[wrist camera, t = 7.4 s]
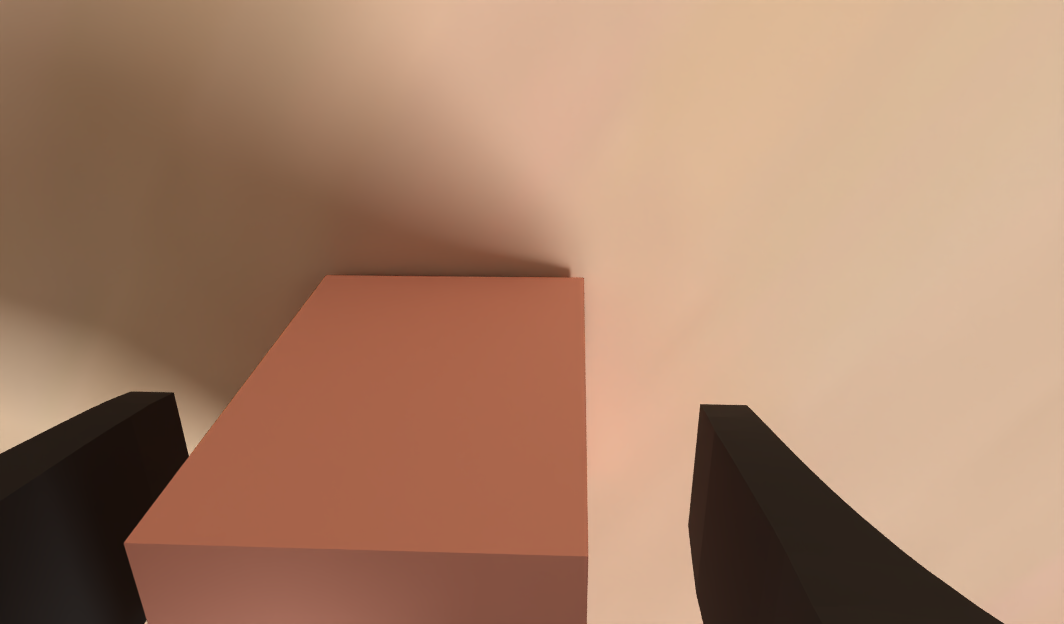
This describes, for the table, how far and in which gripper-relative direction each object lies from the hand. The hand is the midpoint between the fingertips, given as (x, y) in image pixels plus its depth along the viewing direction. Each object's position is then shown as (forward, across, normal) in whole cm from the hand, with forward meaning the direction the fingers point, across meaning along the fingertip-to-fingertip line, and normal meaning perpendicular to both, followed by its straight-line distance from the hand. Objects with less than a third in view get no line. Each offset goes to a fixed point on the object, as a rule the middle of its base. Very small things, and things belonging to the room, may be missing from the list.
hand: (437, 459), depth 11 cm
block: (+2, 0, 0) cm, 2 cm away
